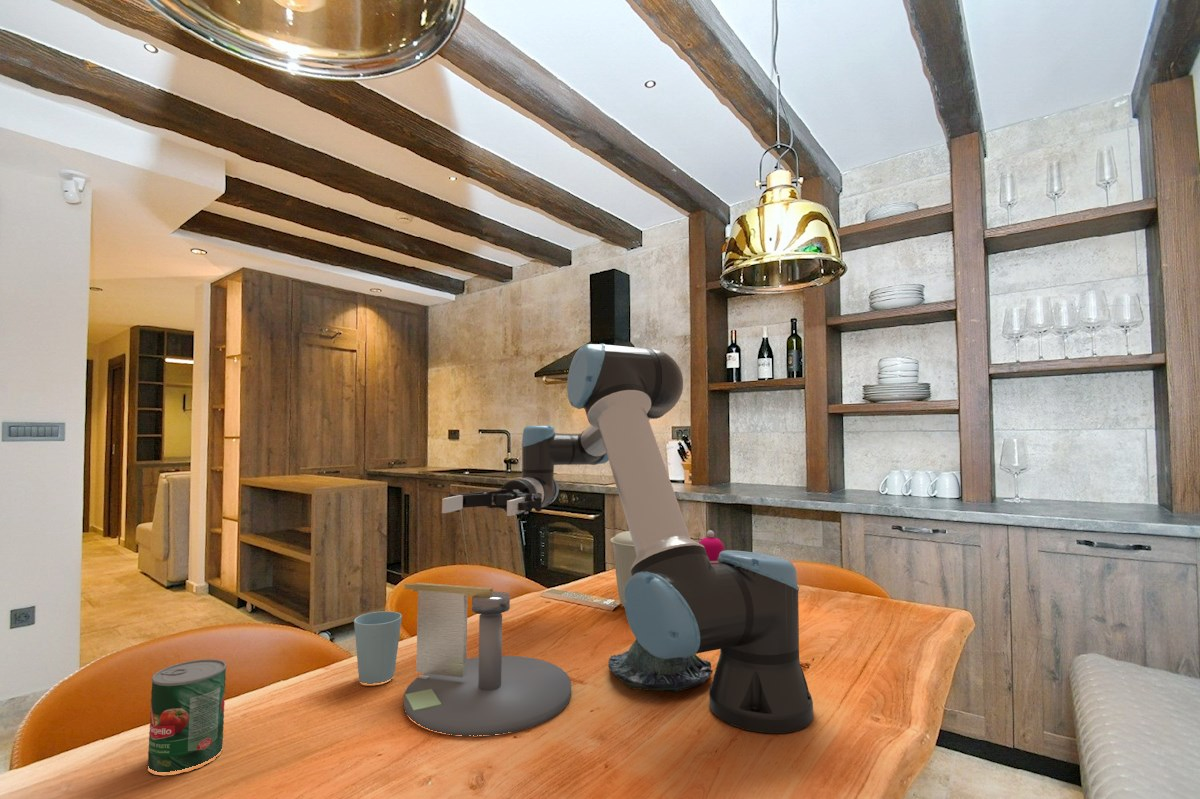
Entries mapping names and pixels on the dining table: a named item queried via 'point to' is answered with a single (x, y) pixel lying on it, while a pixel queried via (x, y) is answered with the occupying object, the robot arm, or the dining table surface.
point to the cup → (377, 645)
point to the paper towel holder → (489, 691)
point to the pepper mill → (712, 547)
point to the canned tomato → (186, 714)
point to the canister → (623, 560)
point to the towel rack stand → (449, 624)
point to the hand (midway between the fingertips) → (475, 507)
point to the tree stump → (658, 670)
